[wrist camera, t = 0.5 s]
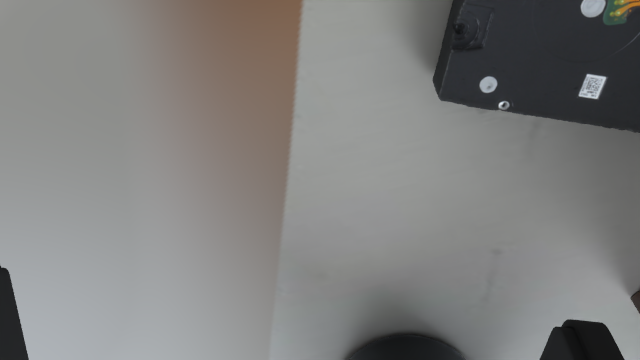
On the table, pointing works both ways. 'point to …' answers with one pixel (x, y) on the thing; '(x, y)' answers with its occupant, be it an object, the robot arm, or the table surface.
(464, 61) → the disk drive
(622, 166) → the table surface
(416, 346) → the ink bottle
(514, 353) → the table surface
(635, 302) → the drawer unit
